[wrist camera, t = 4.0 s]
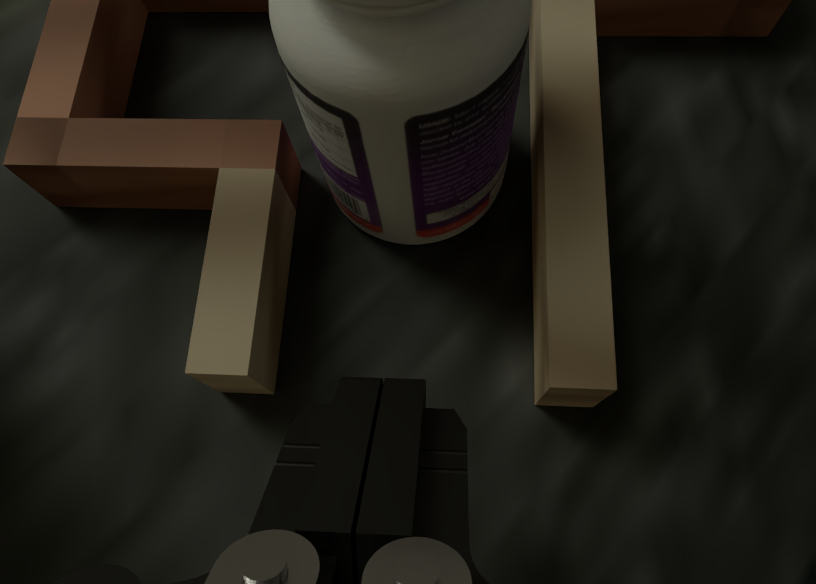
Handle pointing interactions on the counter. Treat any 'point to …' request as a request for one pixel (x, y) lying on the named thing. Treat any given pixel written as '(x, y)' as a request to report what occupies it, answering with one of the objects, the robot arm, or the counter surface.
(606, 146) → the counter surface
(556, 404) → the trap channel
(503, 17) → the pill bottle
